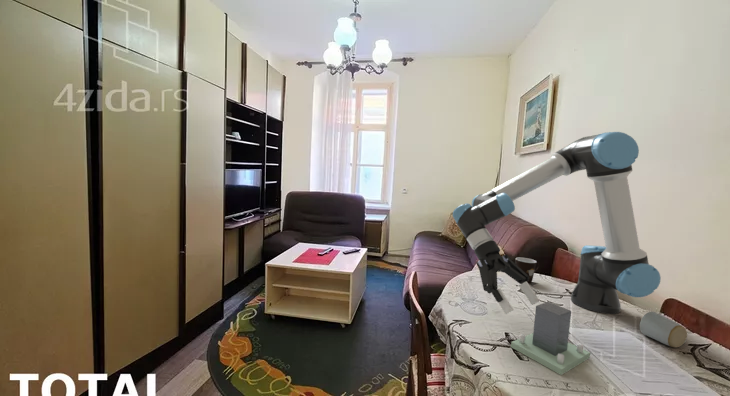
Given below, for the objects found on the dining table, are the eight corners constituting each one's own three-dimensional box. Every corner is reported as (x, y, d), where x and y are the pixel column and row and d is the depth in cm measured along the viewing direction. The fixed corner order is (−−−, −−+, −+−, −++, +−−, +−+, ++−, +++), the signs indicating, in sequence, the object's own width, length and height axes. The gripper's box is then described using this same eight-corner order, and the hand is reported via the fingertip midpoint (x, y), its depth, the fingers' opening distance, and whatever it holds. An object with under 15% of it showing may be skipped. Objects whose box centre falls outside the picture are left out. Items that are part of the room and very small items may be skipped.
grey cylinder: (669, 350, 85) (673, 324, 85) (637, 335, 93) (640, 311, 93) (695, 347, 88) (699, 322, 87) (661, 333, 96) (665, 310, 95)
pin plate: (540, 334, 91) (541, 323, 91) (589, 357, 80) (591, 345, 80) (510, 347, 83) (512, 335, 83) (561, 375, 72) (562, 361, 72)
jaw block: (544, 338, 86) (548, 301, 85) (567, 350, 80) (571, 310, 80) (532, 344, 82) (536, 305, 82) (555, 356, 77) (559, 315, 76)
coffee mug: (517, 283, 135) (519, 261, 135) (511, 277, 144) (512, 256, 143) (544, 286, 134) (547, 264, 133) (537, 279, 142) (539, 259, 141)
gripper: (498, 248, 108) (536, 304, 97) (450, 255, 95) (487, 321, 84) (514, 236, 103) (555, 294, 92) (465, 242, 90) (506, 311, 79)
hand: (523, 307), depth 88 cm, fingers open, 13 cm apart
